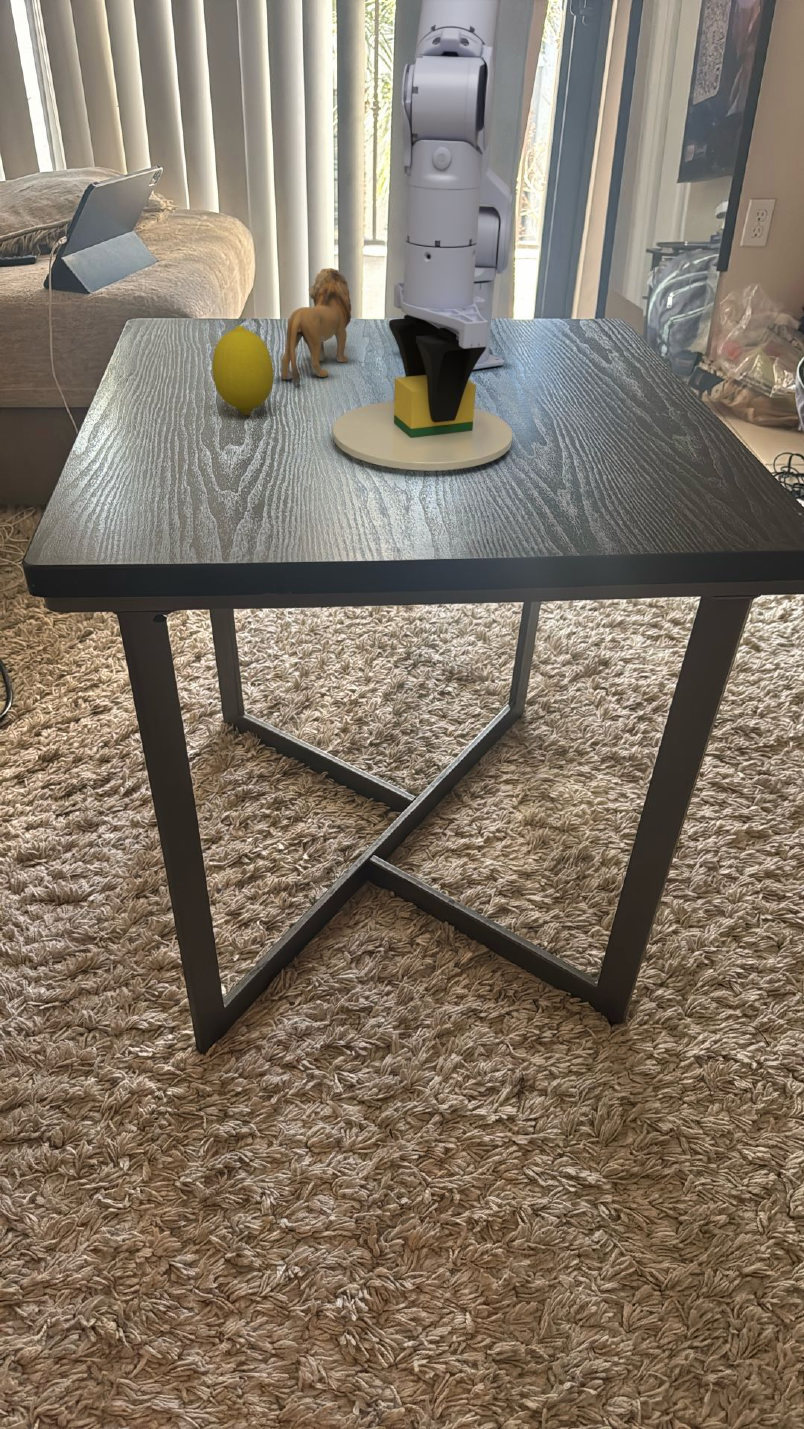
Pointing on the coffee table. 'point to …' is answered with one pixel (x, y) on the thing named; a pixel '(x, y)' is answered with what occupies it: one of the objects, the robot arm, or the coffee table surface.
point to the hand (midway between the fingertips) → (432, 412)
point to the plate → (419, 441)
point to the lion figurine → (319, 323)
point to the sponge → (415, 409)
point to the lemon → (242, 369)
